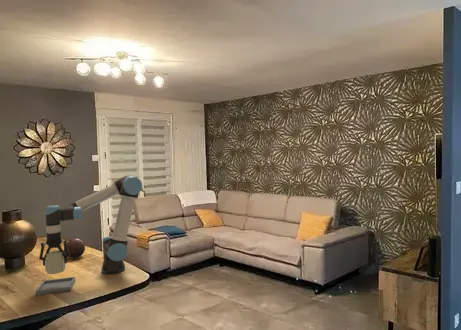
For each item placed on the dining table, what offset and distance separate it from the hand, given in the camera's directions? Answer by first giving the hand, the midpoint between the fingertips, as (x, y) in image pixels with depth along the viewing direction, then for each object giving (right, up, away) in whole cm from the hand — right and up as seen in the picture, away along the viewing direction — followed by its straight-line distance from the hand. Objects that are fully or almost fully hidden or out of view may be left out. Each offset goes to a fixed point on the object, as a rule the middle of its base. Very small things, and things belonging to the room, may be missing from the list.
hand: (55, 270), depth 211 cm
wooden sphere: (-16, -10, +62) cm, 65 cm away
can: (0, -1, 0) cm, 1 cm away
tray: (+1, -11, 0) cm, 11 cm away
